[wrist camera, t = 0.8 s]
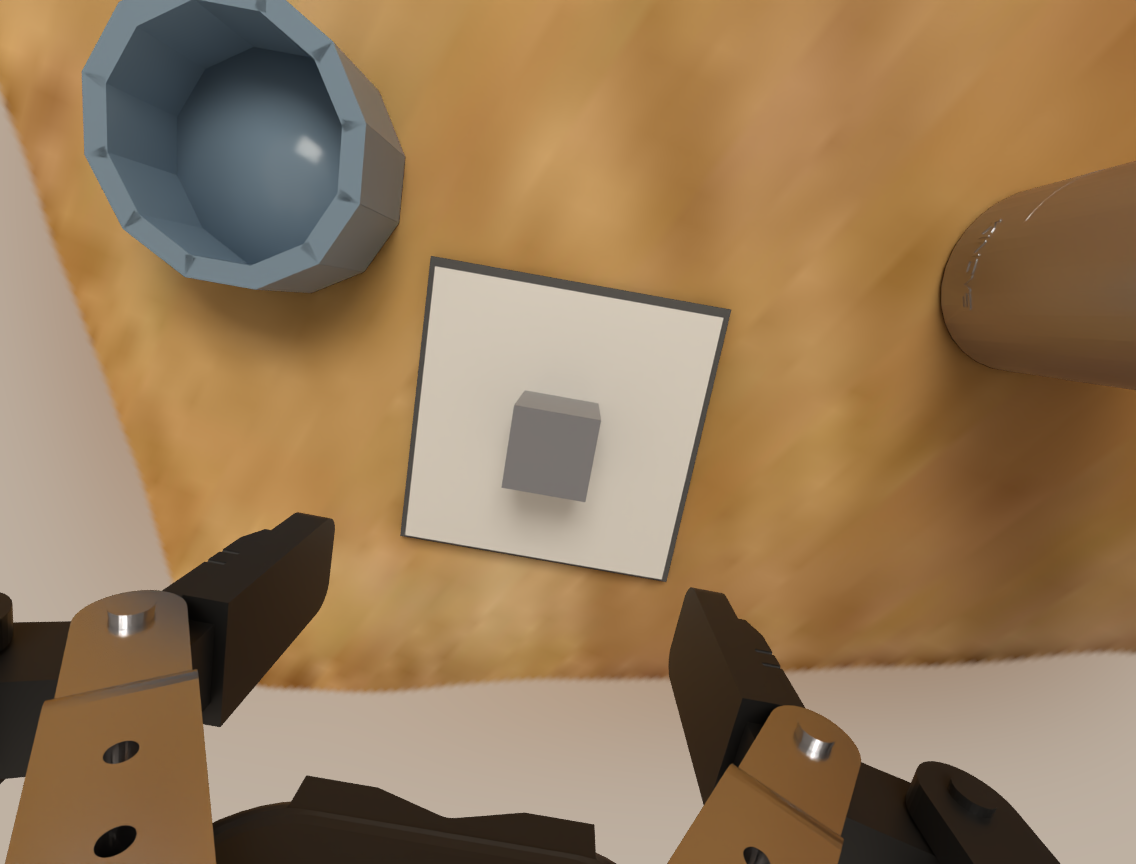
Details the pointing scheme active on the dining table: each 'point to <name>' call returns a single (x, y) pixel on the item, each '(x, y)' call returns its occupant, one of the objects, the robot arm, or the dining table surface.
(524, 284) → the lid
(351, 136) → the bowl
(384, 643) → the dining table surface
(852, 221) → the dining table surface
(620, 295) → the mat
